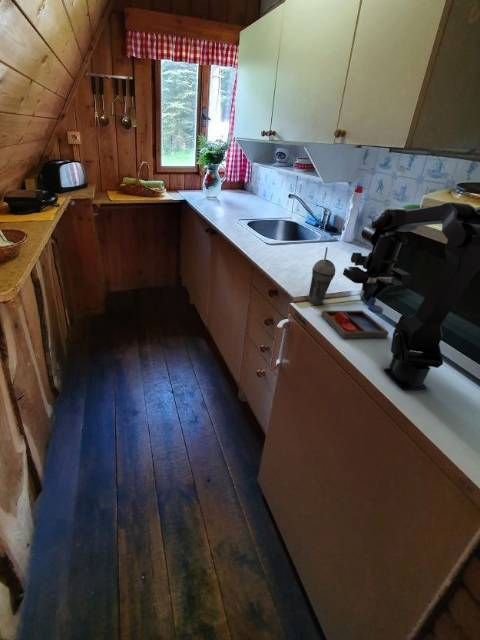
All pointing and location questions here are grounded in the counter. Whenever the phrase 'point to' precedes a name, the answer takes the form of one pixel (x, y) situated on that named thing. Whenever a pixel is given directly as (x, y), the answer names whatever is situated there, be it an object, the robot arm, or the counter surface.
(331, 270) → the beverage cup
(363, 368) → the counter surface
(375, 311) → the blue spoon
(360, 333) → the tray
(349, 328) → the red spoon
